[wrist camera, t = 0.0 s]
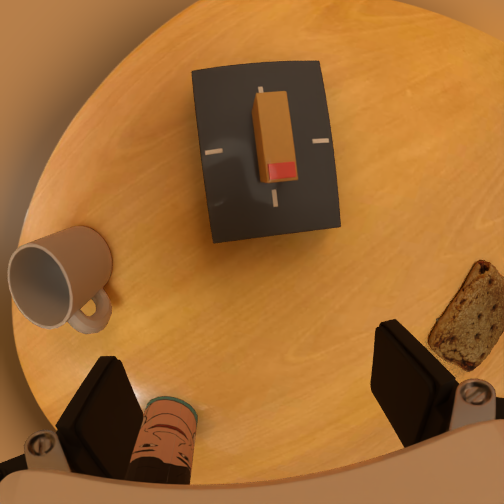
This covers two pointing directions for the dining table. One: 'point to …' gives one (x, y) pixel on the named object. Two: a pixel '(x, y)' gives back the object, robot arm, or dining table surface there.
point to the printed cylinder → (164, 443)
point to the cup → (62, 279)
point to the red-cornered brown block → (274, 137)
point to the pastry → (472, 319)
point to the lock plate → (245, 154)
